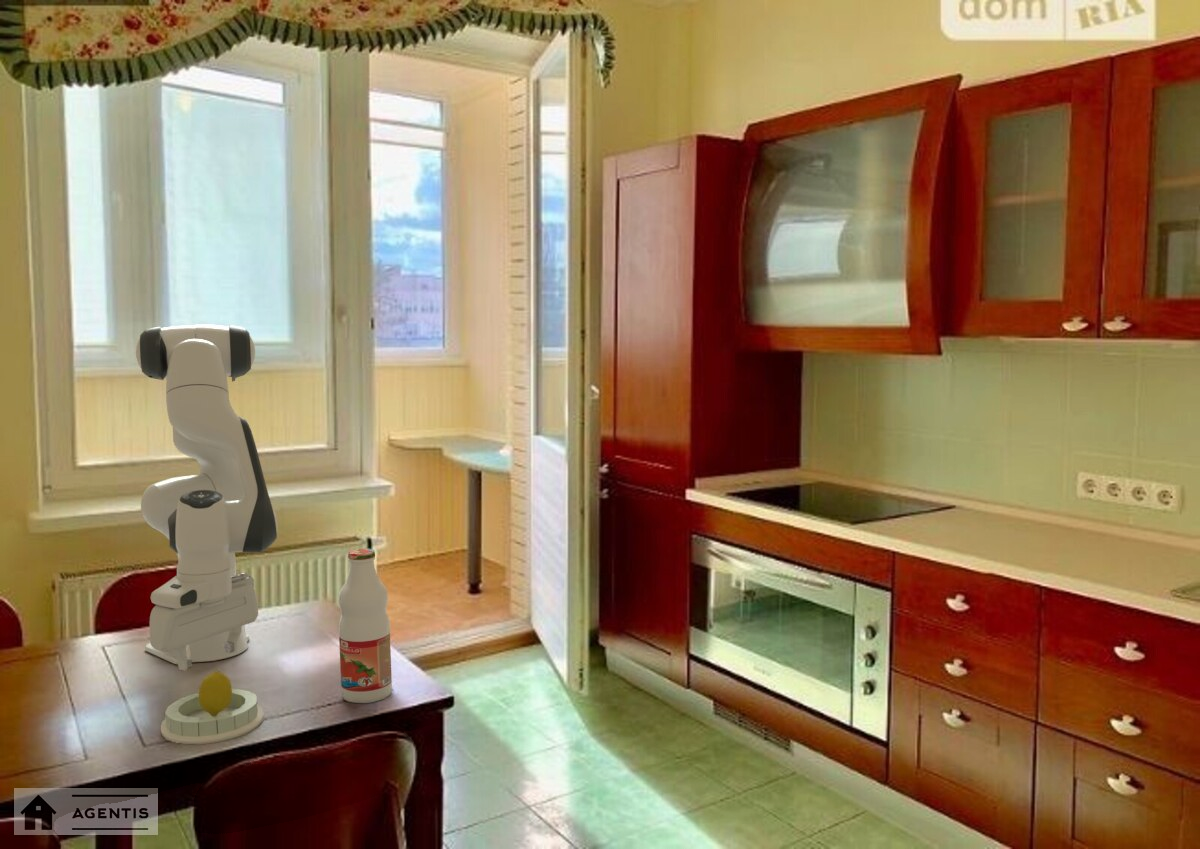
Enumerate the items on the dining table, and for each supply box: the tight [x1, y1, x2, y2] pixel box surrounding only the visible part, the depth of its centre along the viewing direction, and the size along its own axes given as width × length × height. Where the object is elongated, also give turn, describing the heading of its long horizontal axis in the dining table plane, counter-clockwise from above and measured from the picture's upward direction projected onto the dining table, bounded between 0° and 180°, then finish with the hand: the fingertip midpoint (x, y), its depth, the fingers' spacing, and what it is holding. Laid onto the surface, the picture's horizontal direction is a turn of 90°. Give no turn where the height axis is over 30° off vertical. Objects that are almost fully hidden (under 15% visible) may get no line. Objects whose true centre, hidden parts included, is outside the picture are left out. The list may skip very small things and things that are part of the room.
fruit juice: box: [338, 548, 393, 704], centre depth 184 cm, size 9×9×28 cm
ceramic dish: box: [160, 688, 265, 745], centre depth 172 cm, size 17×17×4 cm
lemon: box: [198, 670, 233, 716], centre depth 173 cm, size 6×6×8 cm
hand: (208, 660), depth 172 cm, fingers open, 8 cm apart
